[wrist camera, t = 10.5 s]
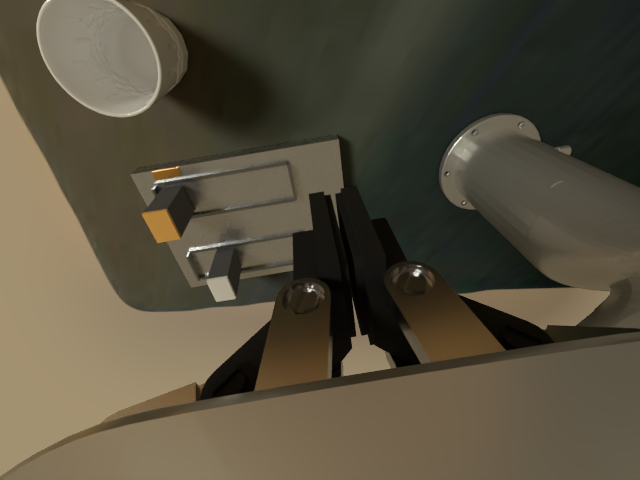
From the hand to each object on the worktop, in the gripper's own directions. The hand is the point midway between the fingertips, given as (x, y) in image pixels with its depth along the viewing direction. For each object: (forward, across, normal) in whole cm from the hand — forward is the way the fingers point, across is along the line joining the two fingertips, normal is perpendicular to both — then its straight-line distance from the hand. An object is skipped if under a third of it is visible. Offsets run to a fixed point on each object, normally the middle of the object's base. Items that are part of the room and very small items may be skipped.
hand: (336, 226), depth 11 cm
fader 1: (+25, +17, +9) cm, 32 cm away
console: (+27, +9, +14) cm, 32 cm away
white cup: (+27, +14, -6) cm, 31 cm away
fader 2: (+25, +14, +19) cm, 34 cm away
